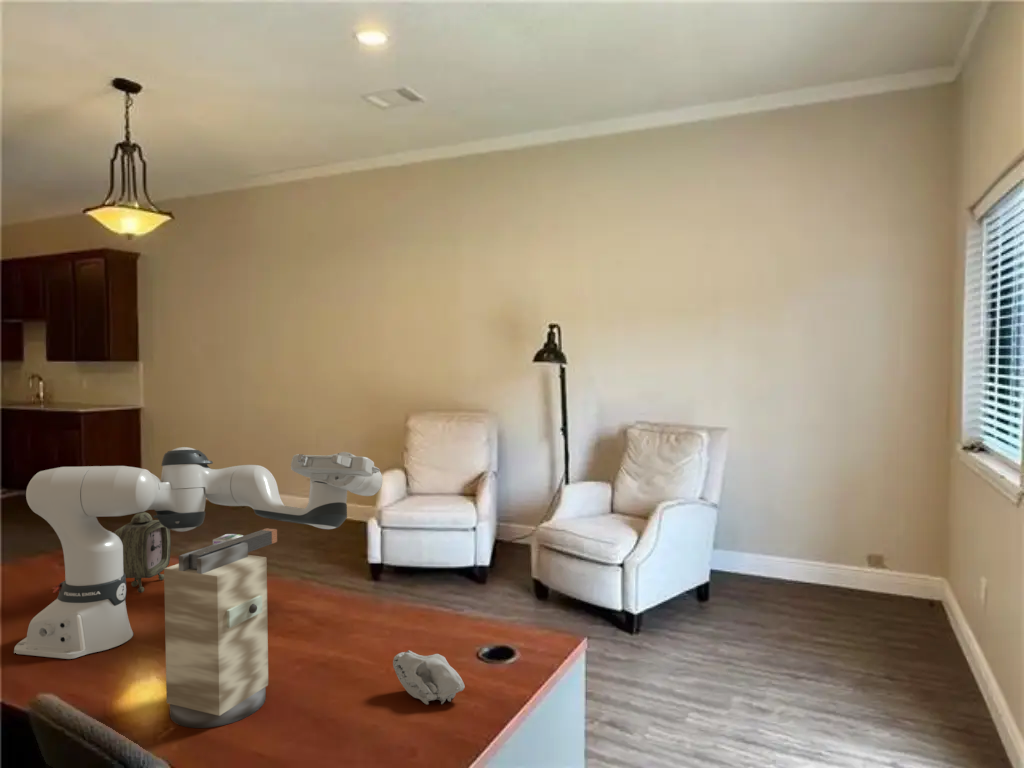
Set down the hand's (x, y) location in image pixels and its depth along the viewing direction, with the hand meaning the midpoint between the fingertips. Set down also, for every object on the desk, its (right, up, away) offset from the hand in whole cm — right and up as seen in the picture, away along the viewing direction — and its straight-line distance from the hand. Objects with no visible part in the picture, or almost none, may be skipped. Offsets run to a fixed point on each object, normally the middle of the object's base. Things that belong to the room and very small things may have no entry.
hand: (316, 458), depth 161 cm
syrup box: (-32, -39, +28) cm, 57 cm away
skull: (+30, -41, -32) cm, 60 cm away
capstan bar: (-6, -15, -32) cm, 36 cm away
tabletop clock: (-56, -39, +30) cm, 75 cm away
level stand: (-8, -41, -35) cm, 55 cm away
